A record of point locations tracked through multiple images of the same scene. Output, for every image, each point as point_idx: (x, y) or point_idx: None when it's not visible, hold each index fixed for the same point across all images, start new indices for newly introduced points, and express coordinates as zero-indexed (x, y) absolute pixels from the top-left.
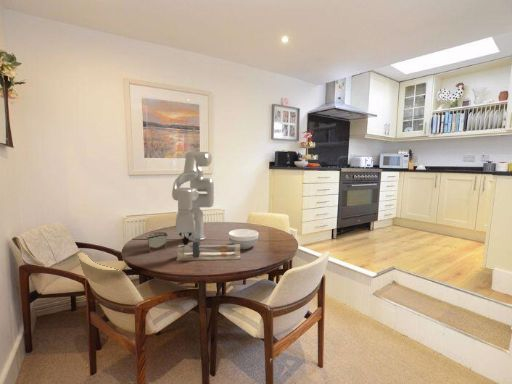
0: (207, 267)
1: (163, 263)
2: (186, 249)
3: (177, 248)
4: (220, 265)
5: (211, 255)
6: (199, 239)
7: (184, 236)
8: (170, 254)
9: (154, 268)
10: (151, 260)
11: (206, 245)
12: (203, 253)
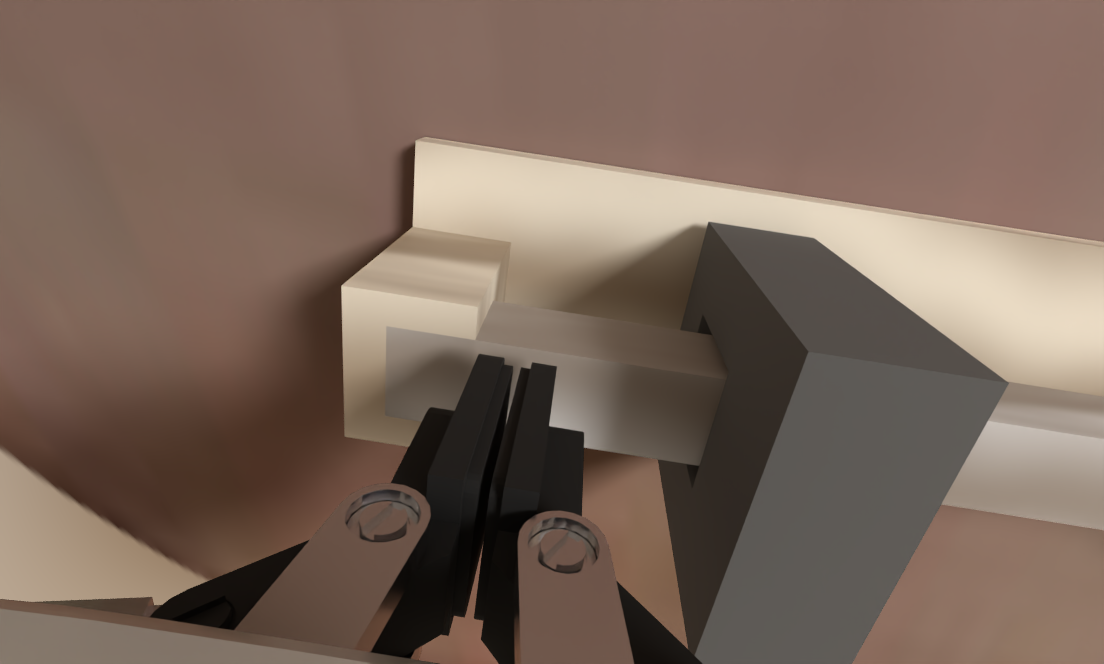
0: None
1: (265, 446)
2: None
3: (352, 426)
4: (957, 641)
5: None
6: (940, 490)
7: (425, 634)
8: (244, 83)
9: (216, 550)
10: (53, 310)
11: (1021, 431)
12: (864, 268)
